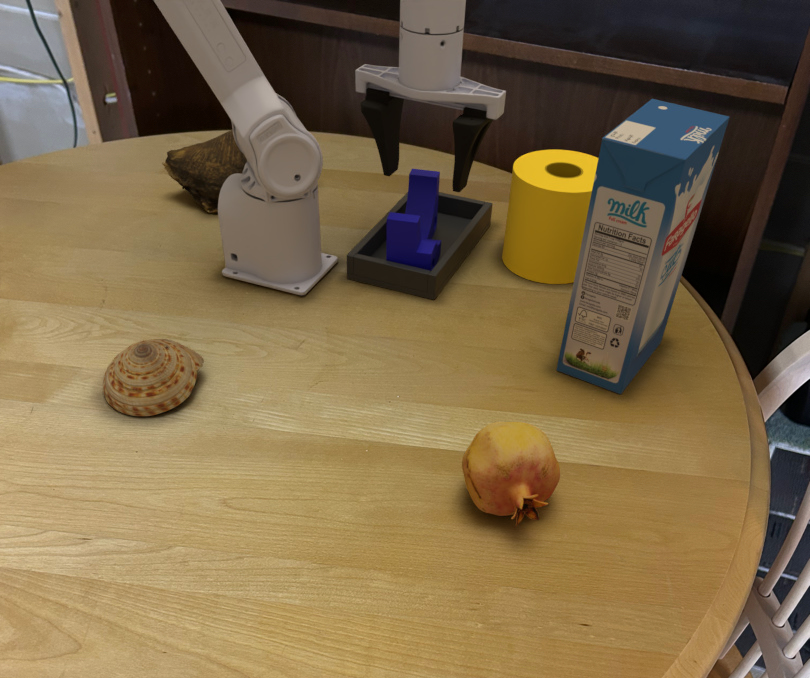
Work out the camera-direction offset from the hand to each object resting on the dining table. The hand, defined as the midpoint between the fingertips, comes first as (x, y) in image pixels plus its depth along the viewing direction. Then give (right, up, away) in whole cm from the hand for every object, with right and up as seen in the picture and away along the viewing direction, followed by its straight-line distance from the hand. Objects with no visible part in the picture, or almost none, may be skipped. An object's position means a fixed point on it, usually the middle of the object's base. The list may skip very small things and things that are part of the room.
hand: (424, 180), depth 81 cm
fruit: (+6, -33, -20) cm, 40 cm away
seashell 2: (-21, +4, +13) cm, 25 cm away
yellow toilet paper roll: (+13, -7, +5) cm, 16 cm away
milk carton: (+17, -20, -7) cm, 27 cm away
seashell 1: (-24, -23, -12) cm, 35 cm away
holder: (0, -5, +5) cm, 8 cm away
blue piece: (0, -6, +4) cm, 7 cm away
